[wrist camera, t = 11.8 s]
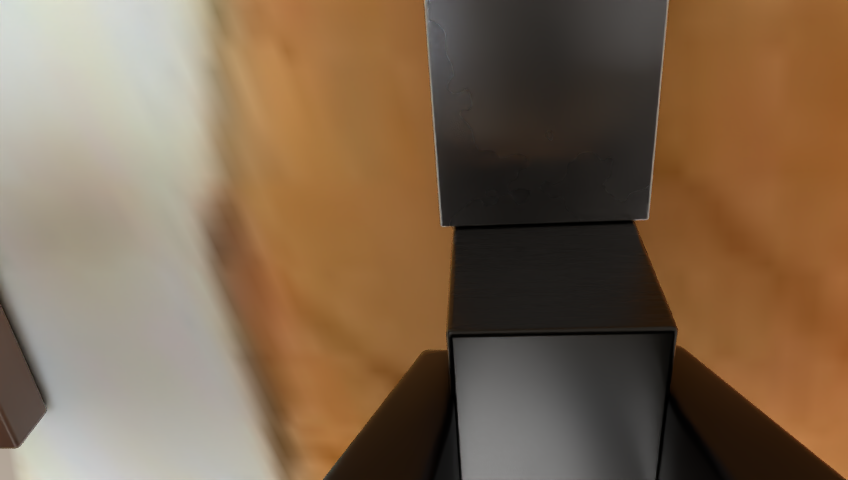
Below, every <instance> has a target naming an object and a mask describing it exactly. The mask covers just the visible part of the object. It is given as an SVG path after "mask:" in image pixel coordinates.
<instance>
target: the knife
mask: <svg viewBox="0 0 848 480" xmlns="http://www.w3.org/2000/svg"><path fill="white" fill-rule="evenodd" d="M668 8H669V0H424V11H425V25H426V39H427V53H428V66H429V80H430V94H431V108H432V122H433V135H434V149H435V163H436V177H437V190H438V204H439V218H440V225H441V227H453V234H452V250H451V266H450V281H449V297H448V312H447V328H446V340H447V353H448V367H449V380H450V394H451V397H452V399H453V401H454V406H455V420H456V435H457V449H458V463H459V477H460V480H658V472H659V464H660V456H661V448H662V440H663V432H664V424H665V416H666V408H667V400H668V398H669V395H670V390H671V382H672V374H673V366H674V358H675V350H676V342H677V334H678V328H677V326H676V323H675V321H674V318H673V316H672V313H671V311H670V308H669V306H668V304H667V301H666V299H665V296H664V294H663V291H662V289H661V286H660V284H659V281H658V279H657V276H656V274H655V271H654V269H653V267H652V264H651V262H650V259H649V257H648V254H647V252H646V249H645V247H644V244H643V242H642V239H641V237H640V235H639V232H638V230H637V227H636V225H635V222H634V221H639V220H648V219H649V215H650V204H651V193H652V182H653V172H654V161H655V150H656V139H657V128H658V117H659V106H660V95H661V84H662V74H663V63H664V52H665V41H666V30H667V19H668Z"/></svg>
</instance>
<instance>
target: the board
mask: <svg viewBox="0 0 848 480" xmlns="http://www.w3.org/2000/svg"><path fill="white" fill-rule="evenodd" d="M45 413H46V406H45V404H44V401H43V399H42V397H41V395H40V392H39V390H38V388H37V385H36V383H35V381H34V379H33V376H32V374H31V372H30V369H29V367H28V365H27V363H26V360H25V358H24V356H23V354H22V351H21V349H20V347H19V344H18V342H17V340H16V338H15V335H14V333H13V331H12V328H11V326H10V324H9V322H8V319H7V317H6V315H5V313H4V310H3V308H2V306H1V303H0V448H2V449H4V448H18V447H20V446H21V445H22V443H23V442H24V441H25V439H26V438H27V437H28V435H29V434H30V433H31V431H32V430H33V429H34V427H35V426H36V425H37V424H38V422H39V421H40V420H41V418H42V417H43V416H44V414H45Z"/></svg>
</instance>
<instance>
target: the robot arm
mask: <svg viewBox="0 0 848 480" xmlns="http://www.w3.org/2000/svg"><path fill="white" fill-rule="evenodd" d="M323 480H460V477H459V463H458V449H457V435H456V420H455V406H454V401H453V399H452V397H451V394H450V380H449V367H448V353H447V350H425V351H424V352H422V353H421V354H420V356H419V357H418V358H417V359H416V361H415V362H414V363H413V365H412V366H411V367H410V368H409V370H408V371H407V372H406V374H405V375H404V376H403V377H402V379H401V380H400V381H399V383H398V384H397V385H396V386H395V388H394V389H393V390H392V392H391V393H390V394H389V395H388V397H387V398H386V399H385V401H384V402H383V403H382V404H381V406H380V407H379V408H378V410H377V411H376V412H375V413H374V415H373V416H372V417H371V418H370V420H369V421H368V422H367V424H366V425H365V426H364V427H363V429H362V430H361V431H360V433H359V434H358V435H357V436H356V438H355V439H354V440H353V442H352V443H351V444H350V445H349V447H348V448H347V449H346V451H345V452H344V453H343V454H342V456H341V457H340V458H339V460H338V461H337V462H336V463H335V465H334V466H333V467H332V469H331V470H330V471H329V472H328V474H327V475H326V476H325V478H324V479H323ZM658 480H846V479H845V478H843V477H842V476H841V475H840V474H838V473H837V472H836V471H835V470H834V469H832V468H831V467H830V466H829V465H827V464H826V463H825V462H824V461H822V460H821V459H820V458H819V457H817V456H816V455H815V454H814V453H813V452H811V451H810V450H809V449H808V448H806V447H805V446H804V445H803V444H801V443H800V442H799V441H798V440H796V439H795V438H794V437H793V436H792V435H790V434H789V433H788V432H787V431H785V430H784V429H783V428H782V427H780V426H779V425H778V424H777V423H775V422H774V421H773V420H772V419H771V418H769V417H768V416H767V415H766V414H764V413H763V412H762V411H761V410H759V409H758V408H757V407H756V406H754V405H753V404H752V403H751V402H750V401H748V400H747V399H746V398H745V397H743V396H742V395H741V394H740V393H738V392H737V391H736V390H735V389H733V388H732V387H731V386H730V385H728V384H727V383H726V382H725V381H724V380H722V379H721V378H720V377H719V376H717V375H716V374H715V373H714V372H712V371H711V370H710V369H709V368H707V367H706V366H705V365H704V364H703V363H701V362H700V361H699V360H698V359H696V358H695V357H694V356H693V355H691V354H690V353H689V352H688V351H686V350H685V349H684V348H682V347H680V346H676V350H675V358H674V366H673V374H672V382H671V390H670V395H669V398H668V400H667V408H666V416H665V424H664V432H663V440H662V448H661V456H660V464H659V472H658Z"/></svg>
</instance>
